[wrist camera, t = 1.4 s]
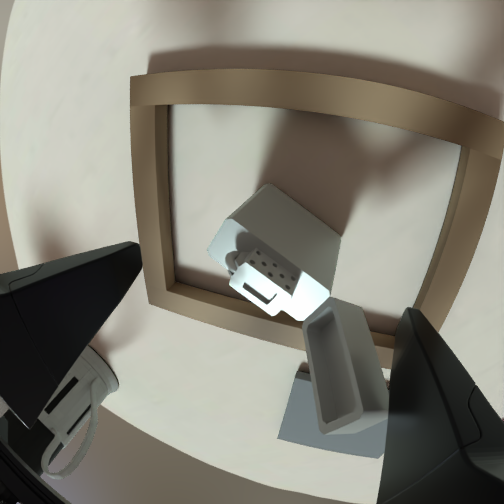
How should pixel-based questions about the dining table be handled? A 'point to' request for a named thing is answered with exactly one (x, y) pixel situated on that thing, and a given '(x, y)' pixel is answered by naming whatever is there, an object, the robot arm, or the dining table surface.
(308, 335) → the lighter
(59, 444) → the glass holder
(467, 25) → the dining table surface
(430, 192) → the dining table surface
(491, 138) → the frame
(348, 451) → the mat
